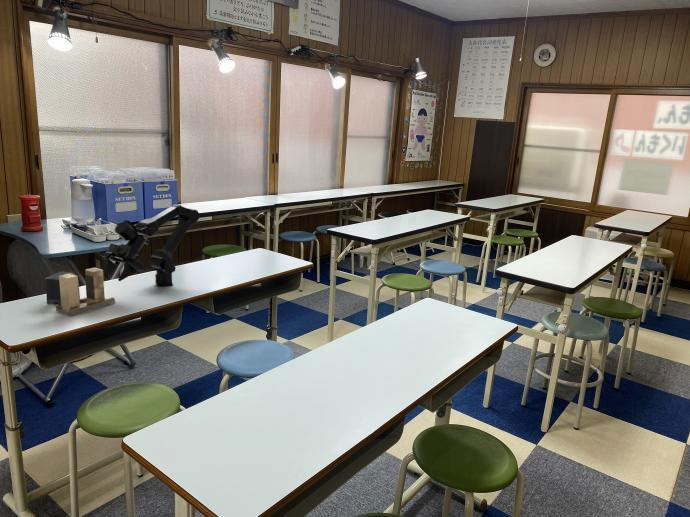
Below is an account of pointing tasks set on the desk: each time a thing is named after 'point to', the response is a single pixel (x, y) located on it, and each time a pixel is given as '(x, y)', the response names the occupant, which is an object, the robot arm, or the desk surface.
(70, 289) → the rail
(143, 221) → the robot arm
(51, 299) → the small box
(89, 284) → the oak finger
